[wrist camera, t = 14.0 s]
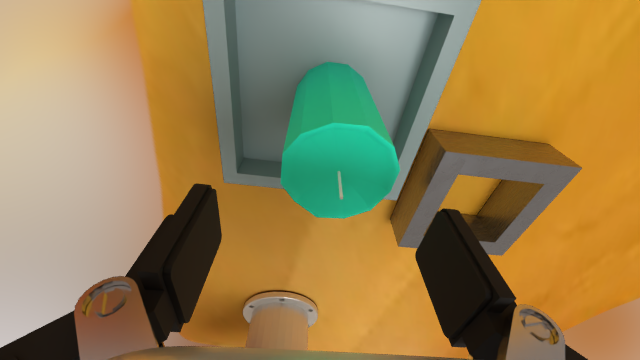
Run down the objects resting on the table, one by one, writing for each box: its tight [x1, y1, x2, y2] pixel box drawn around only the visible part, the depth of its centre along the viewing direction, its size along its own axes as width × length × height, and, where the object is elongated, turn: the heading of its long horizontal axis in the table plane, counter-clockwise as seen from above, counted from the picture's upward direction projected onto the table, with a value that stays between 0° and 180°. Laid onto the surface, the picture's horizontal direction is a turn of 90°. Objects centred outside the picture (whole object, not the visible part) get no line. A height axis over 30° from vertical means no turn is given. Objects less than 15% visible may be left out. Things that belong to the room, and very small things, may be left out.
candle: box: [280, 62, 400, 218], centre depth 16 cm, size 6×6×12 cm
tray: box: [203, 0, 481, 200], centre depth 20 cm, size 16×16×4 cm
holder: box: [390, 129, 582, 255], centre depth 26 cm, size 12×12×4 cm
